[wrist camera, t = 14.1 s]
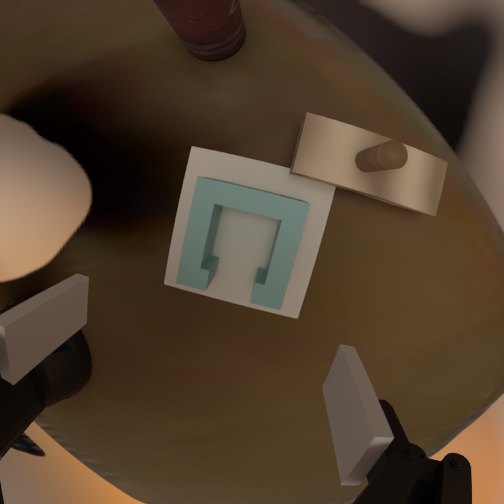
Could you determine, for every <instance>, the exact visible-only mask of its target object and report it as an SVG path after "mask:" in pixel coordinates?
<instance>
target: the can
mask: <svg viewBox="0 0 504 504" xmlns="http://www.w3.org/2000/svg"><path fill="white" fill-rule="evenodd" d="M153 1H154V2H155V4H156V5H157V6H158V8H159V9H160V11H161V12H162V13H163V15H164V16H165V17H166V19H167V20H168V22H169V23H170V25H171V26H172V27H173V29H174V30H175V32H176V33H177V35H178V36H179V37H180V39H181V40H182V42H183V43H184V45H185V46H186V48H187V49H188V50H189V52H191V53H192V54H193V55H194V56H195V57H198V58H201V59H203V60H217V59H223V58H225V57H227V56H229V55H232V54H233V53H234V52H235V51H236V50H238V49H239V48H240V46H241V45H242V43H243V42H244V38H245V34H246V33H245V27H244V22H243V17H242V12H241V8H240V3H239V0H153Z"/></svg>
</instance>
